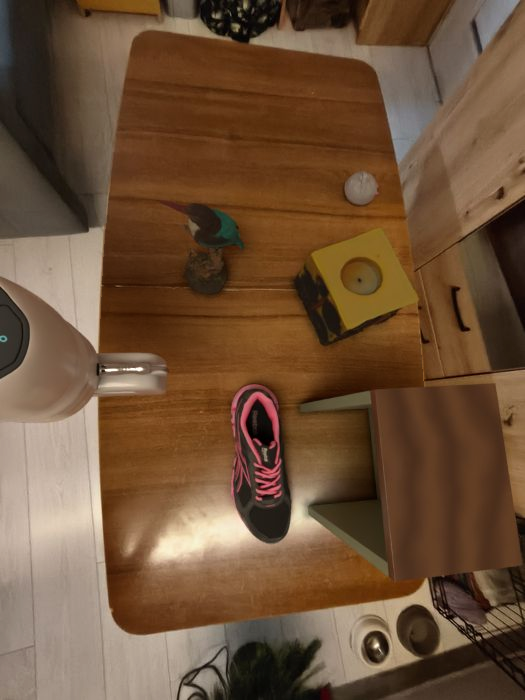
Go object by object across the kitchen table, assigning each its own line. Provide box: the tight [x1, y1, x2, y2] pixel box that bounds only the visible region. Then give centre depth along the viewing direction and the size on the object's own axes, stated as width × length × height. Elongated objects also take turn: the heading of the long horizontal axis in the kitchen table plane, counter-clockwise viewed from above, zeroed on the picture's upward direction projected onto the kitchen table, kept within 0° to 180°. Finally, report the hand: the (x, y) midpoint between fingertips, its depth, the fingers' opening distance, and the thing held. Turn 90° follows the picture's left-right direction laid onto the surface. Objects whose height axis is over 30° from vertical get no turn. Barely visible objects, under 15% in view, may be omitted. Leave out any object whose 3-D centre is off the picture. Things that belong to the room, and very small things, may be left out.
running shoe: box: [230, 383, 293, 545], centre depth 72 cm, size 11×27×13 cm, turn 9°
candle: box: [293, 226, 420, 347], centre depth 79 cm, size 15×15×15 cm
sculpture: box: [156, 199, 246, 295], centre depth 70 cm, size 8×14×25 cm, turn 88°
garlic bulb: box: [343, 170, 379, 206], centre depth 87 cm, size 6×7×8 cm
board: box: [369, 383, 524, 583], centre depth 48 cm, size 15×20×2 cm
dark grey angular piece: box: [299, 390, 389, 578], centre depth 65 cm, size 15×20×33 cm
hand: (80, 385), depth 50 cm, fingers closed
